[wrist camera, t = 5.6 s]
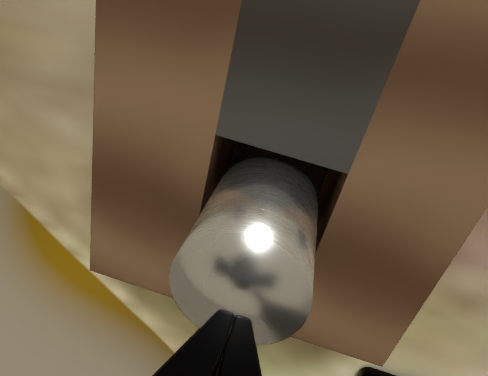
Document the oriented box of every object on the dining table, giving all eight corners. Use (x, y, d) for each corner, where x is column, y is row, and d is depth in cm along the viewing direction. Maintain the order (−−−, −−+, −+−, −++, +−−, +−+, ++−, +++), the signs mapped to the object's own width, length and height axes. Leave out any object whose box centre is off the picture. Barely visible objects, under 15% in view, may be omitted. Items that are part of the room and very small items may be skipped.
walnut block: (371, 289, 21) (382, 366, 17) (137, 215, 22) (89, 270, 18) (752, -410, 9) (1127, -766, 5) (207, -501, 10) (115, -866, 6)
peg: (300, 257, 16) (288, 361, 11) (208, 229, 16) (161, 319, 11) (333, 174, 14) (333, 261, 9) (227, 143, 14) (178, 213, 10)
